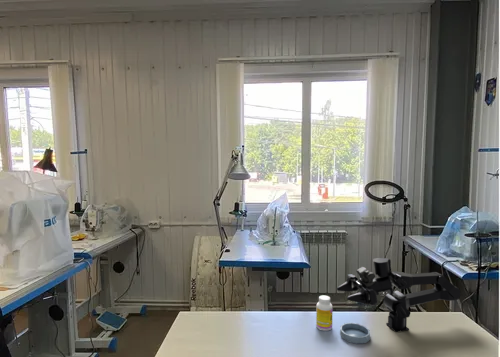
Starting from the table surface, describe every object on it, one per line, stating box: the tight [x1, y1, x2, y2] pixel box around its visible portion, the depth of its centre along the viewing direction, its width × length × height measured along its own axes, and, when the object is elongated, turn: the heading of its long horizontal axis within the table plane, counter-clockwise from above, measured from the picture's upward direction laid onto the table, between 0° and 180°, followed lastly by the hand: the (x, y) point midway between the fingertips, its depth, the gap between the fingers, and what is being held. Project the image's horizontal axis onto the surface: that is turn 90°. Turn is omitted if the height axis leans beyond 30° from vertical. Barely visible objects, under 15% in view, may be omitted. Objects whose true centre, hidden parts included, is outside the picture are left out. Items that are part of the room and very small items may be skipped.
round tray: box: [339, 322, 371, 345], centre depth 131 cm, size 11×11×2 cm
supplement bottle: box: [315, 294, 333, 332], centre depth 137 cm, size 7×7×13 cm
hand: (342, 293), depth 132 cm, fingers open, 9 cm apart
